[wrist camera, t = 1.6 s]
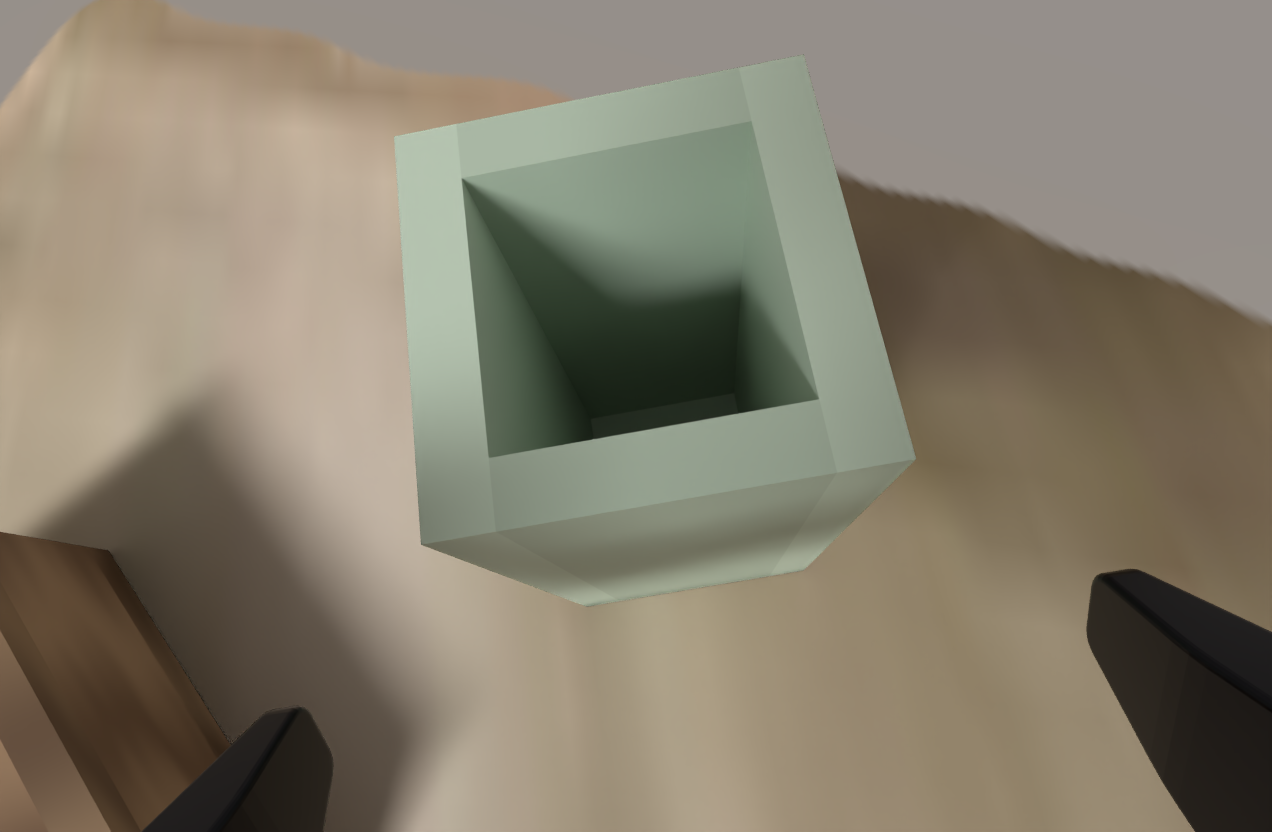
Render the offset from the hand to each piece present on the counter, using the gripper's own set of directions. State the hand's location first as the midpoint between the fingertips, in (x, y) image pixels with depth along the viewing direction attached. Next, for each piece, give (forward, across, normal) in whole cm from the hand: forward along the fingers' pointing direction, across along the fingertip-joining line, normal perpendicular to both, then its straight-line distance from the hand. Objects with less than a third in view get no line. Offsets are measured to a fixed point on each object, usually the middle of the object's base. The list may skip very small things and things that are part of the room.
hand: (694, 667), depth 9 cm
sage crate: (+12, 0, +5) cm, 13 cm away
